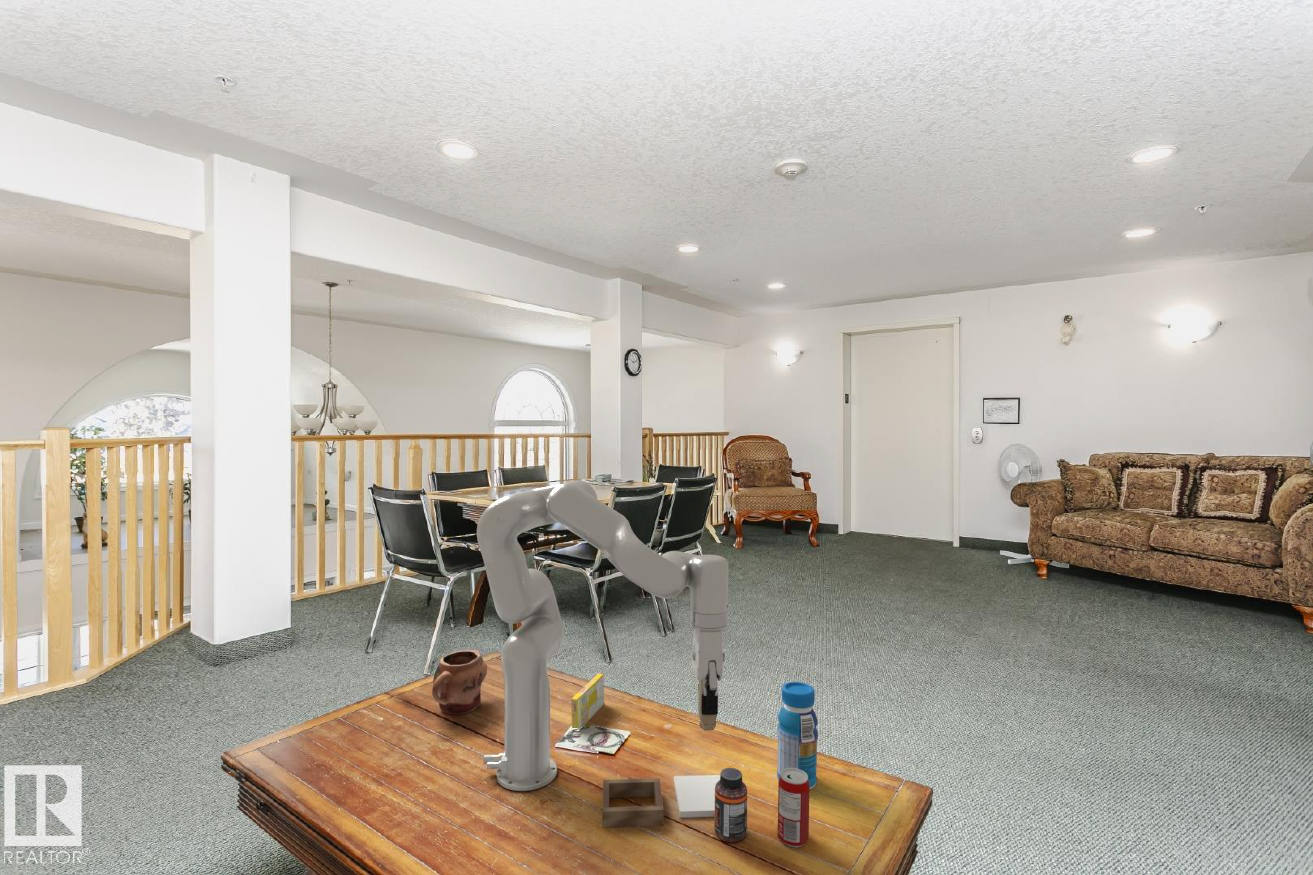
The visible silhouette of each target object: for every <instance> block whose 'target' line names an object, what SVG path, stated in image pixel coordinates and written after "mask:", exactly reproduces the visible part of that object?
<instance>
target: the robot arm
mask: <svg viewBox="0 0 1313 875" xmlns="http://www.w3.org/2000/svg"><path fill="white" fill-rule="evenodd" d="M557 523H558V524H559V525H560V526H562V527H563V528H565V529H566V530H568V531H570V532H571V533H573V534H574V535H575V536H577V537H578V538H581V539H582V540H584V541H585V542H587V543H588V544H589V545H591V546H593V547H594V548H596V549H597V550H599V551H600V552H601V553H603V555H604V556H605V557H606V559H607V560H608V561H609V562H610V563H611V564H612V565H613V566H614V567H615V568H616V569H617V571H619V572H620V573H621V575H623V577H625V578H627V579H628V580H629V581H631V582H632V583H634V584H635V585H636V586H638V587H640V588H641V589H643V590H644V591H645V592H647V593H649V594H651V595H652V596H655V597H657V598H660V599H665V600H666V599H667V600H668V599H672V598H673V599H674V598H675V597H677V596H679V595H680V594H681V593H682V592H683V591H684V590H685V588H687V587H688V588H689V590H690V591H689V592H690V597H689V599H690V603H689V604H690V606H689V607H690V608H689V625H690V627H691V628H692V629H693V631H692V632H693V635H692V656H691V658H692V659H691V666H692V670H693V672H694V675H695V679H696V680H697V681H698V682H699V681H701V680H703V694H702V699H701V713H702V715H717V716H718V713H719V692H718V690H719V689H718V686H719V685H718V682H720V681H721V680H722V679H723V663H724V662H723V653H724V652H723V651H724V648H723V647H724V646H723V645H724V644H723V642H724V640H723V630H725V629H727V628H728V625H729V624H728V622H729V620H728V619H729V617H728V616H729V614H728V612H729V562H728V560H727V558H725V557H724V556H721V555H716V554H699V555H698V554H693V553H687V552H683V551H680V550H679V551H677V550H670V551H666V552H664V553H663V554H662V555H661V554H660V553H658V552H656V551H654V550H653V549H652V548H650V547H649V546H647V545H646V544H644V542H642V541H641V540H640V539H639V538H638V537H637V535H636V534H635V533H634V531H633V529H632V527H631V525H630V521H629V520H628V519H627V518H626V517H625V516H624V515H623V514H621V513H620V512H618V511H617V510H615V509H613V508H612V507H610V506H609V505H607V504H606V503H604V502H602V501H601V500H599V499H598V495H597V493H596V490H595V488H594V487H593V486H591V484H589V483H588V482H585V481H583V480H570V481H567V482H564V483H560V484H553V485H549V486H544V487H539V488H533V489H527V490H524V491H520V492H515V493H511V494H508V495H504V496H502V497H500V498H498V499H496V500H495V501H493V502H492V503H491V504H489V506H487V507H486V508H485V510H484V511H483V512H482V514H481V516H480V517H479V520H478V523H477V526H476V527H477V528H476V537H477V544H478V547H479V551H480V553H481V556H482V559H483V563H484V568H485V571H486V577H487V581H488V584H489V590H490V592H491V596H492V600H493V605H494V609H495V612H496V613H497V615H498V617H499V619H500V620H501V621H502V622H504V623H506V624H511V625H514V624H518V623H521V626H519V627H518V628H517V629H516V630H514V631H513V632H512V633H511V634H510V635H509V636H508V638H507V639H506V641H505V642H504V644H503V646H502V648H501V653H500V662H501V670H502V674H503V676H502V677H503V684H504V685H503V686H504V688H503V690H504V692H503V693H504V746H503V747H504V751H503V752H499V754H493V753H492V754H490V753H489V754H484V755H483V765H486V770H496V781H497V783H498V784H499V785H500V786H501V787H502V788H505V789H508V790H511V791H515V792H528V791H534V790H538V789H541V788H543V787H546V786H547V785H548V784H550V783H552V782H553V780H554V779H555V778H556V776H557V774H558V767H557V763H556V762H555V760H553V758H551V757H550V756H551V754H550V753H551V751H550V749H551V746H550V745H551V685H550V678H549V674H548V664H549V662H550V661H551V660H552V658H554V656H555V655H556V654H557V653H558V652H559V651H560V649H561V648H562V646H563V643H564V640H565V630H564V625H563V621H562V616H561V613H560V610H559V605H558V601H557V598H556V594H555V591H554V586H553V585H552V582H551V580H550V579H549V578H548V576H547V575H546V574H545V573H544V572H543V571H541V570H539V569H536V568H529V567H528V564H527V558H526V555H525V553H524V550H523V548H522V546H521V544H520V543H519V541H518V537H519V535H521V534H523V533H525V532H527V531H530V530H532V529H535V528H536V529H537V528H538V527H542V526H547V525H552V524H557ZM693 651H694V654H695V661H694V660H693ZM706 676H709V678H706ZM706 682H709V685H707V687H706ZM697 686H698V687H697V691H698V692H697V694H698V693H699V683H698V684H697Z"/></svg>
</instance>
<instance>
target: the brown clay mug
mask: <svg viewBox="0 0 1313 875" xmlns="http://www.w3.org/2000/svg"><path fill="white" fill-rule="evenodd" d="M487 672H488V665H487V663H486V661H485V660H484V659H483V656H482V654H481V652H480V651H478V650H475V649H474V650H473V649H471V650H470V649H469V650H468V649H467V650H458V651H454V652H451V653H449V654H446V655H444V656H442V657H441V659H440V660H439V662H438V665H437V668H436V670H435V672H434V674H433V679H432V683H433V684H432V690H431V693H432V694H431V696H432V697H433V699H434V701H435V702H437V703H438V705H439V706H438V707H439V709H440V711H441V712H442V713H445V714H448V715H463V714H467V713H470V712H472V711H474V710H475V709H477V708H478V707H479V706H480V705H481V702H482V701H481V700H482V699H481V692H482V691H481V690H482V684H483V682H484V680H485V678H486V676H487V675H488V674H487Z"/></svg>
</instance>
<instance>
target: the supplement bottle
mask: <svg viewBox="0 0 1313 875" xmlns="http://www.w3.org/2000/svg"><path fill="white" fill-rule="evenodd" d="M719 775H720V780H719V781H718V782H717V783H716V785H715V815H714V817H713V818H714V820H713V821H714V825H713V826H714V833H715V835H716V836H717V837H718V838H719V839H720V840H722V841H724V842H727V843H737V842H741V841H742V840H744V839H745V838H746V835H747V829H748V828H747V826H748V823H747V822H748V788H747V785H746V783H745V782H744V781H743V773H742V771H741V770H739V769H737V768H735V767H725V768H723V769H721V771H720V774H719Z"/></svg>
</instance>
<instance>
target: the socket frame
mask: <svg viewBox="0 0 1313 875" xmlns="http://www.w3.org/2000/svg"><path fill="white" fill-rule="evenodd" d="M660 779H661V778H659V777H658V778H657V777H656V778H630V779H629V778H627V779H625V778H623V779H622V778H621V779H603V781H602V784H603V785H602V809H601V810H602V816H601V817H602V820H601V821H602V822H601V824H602V825H601V826H602V828H626V827H627V828H628V827H629V828H631V827H632V828H633V827H661V826H664V813H665V812H664V810H665V809H664V802H663V794H662V787H661V780H660ZM645 797H646V798H649V797H651V798H652V797H653V802H654V806H653V805H650V806H648V805H646V806H615V807H614V806H613V807H611V806H610V799H612V798H613V799H615V798H616V799H617V798H620V799H621V798H645Z"/></svg>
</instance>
